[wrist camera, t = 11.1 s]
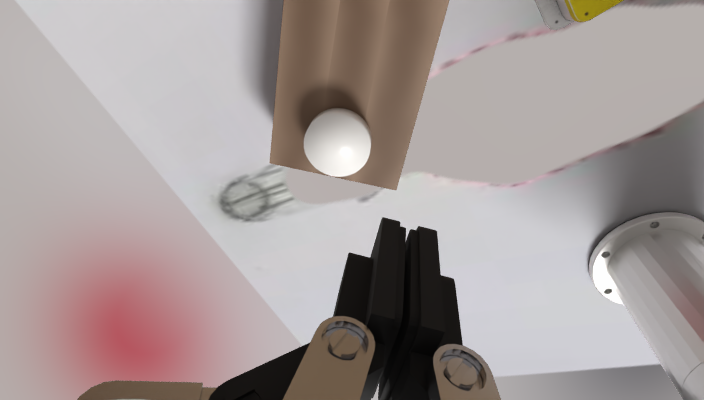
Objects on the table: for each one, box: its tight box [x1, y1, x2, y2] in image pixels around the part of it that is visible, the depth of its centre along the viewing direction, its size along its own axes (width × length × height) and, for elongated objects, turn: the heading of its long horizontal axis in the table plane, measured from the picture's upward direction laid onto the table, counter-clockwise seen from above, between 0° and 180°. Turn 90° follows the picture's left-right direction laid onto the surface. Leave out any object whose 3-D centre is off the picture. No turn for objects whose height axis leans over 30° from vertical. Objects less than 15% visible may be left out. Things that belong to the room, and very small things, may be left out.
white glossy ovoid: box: [304, 108, 372, 177], centre depth 37 cm, size 6×6×8 cm
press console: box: [270, 0, 449, 190], centre depth 34 cm, size 12×24×6 cm, turn 170°
